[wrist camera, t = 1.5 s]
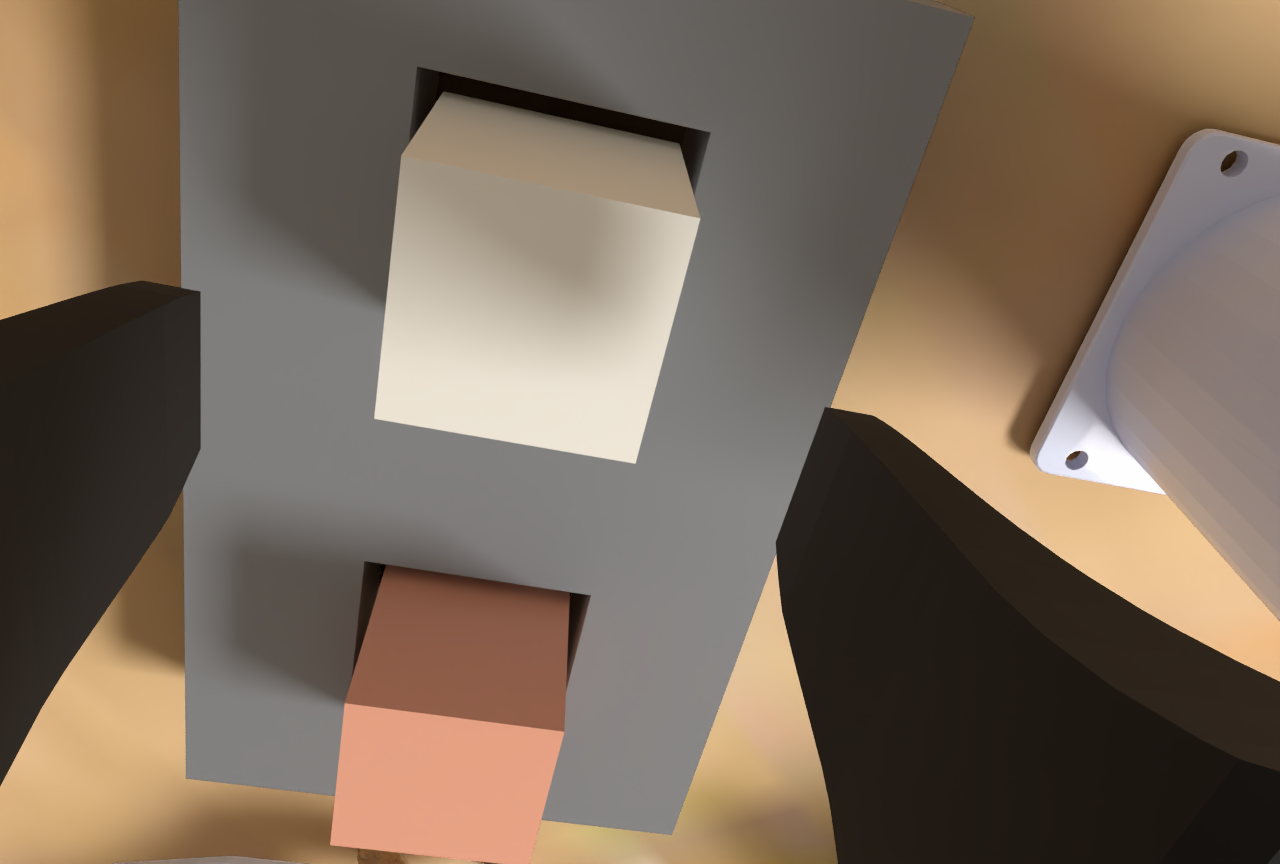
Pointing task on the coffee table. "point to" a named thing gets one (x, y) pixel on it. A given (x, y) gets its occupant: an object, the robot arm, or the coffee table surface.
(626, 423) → the cream cube
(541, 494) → the button housing
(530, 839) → the salmon pink block
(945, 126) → the coffee table surface
